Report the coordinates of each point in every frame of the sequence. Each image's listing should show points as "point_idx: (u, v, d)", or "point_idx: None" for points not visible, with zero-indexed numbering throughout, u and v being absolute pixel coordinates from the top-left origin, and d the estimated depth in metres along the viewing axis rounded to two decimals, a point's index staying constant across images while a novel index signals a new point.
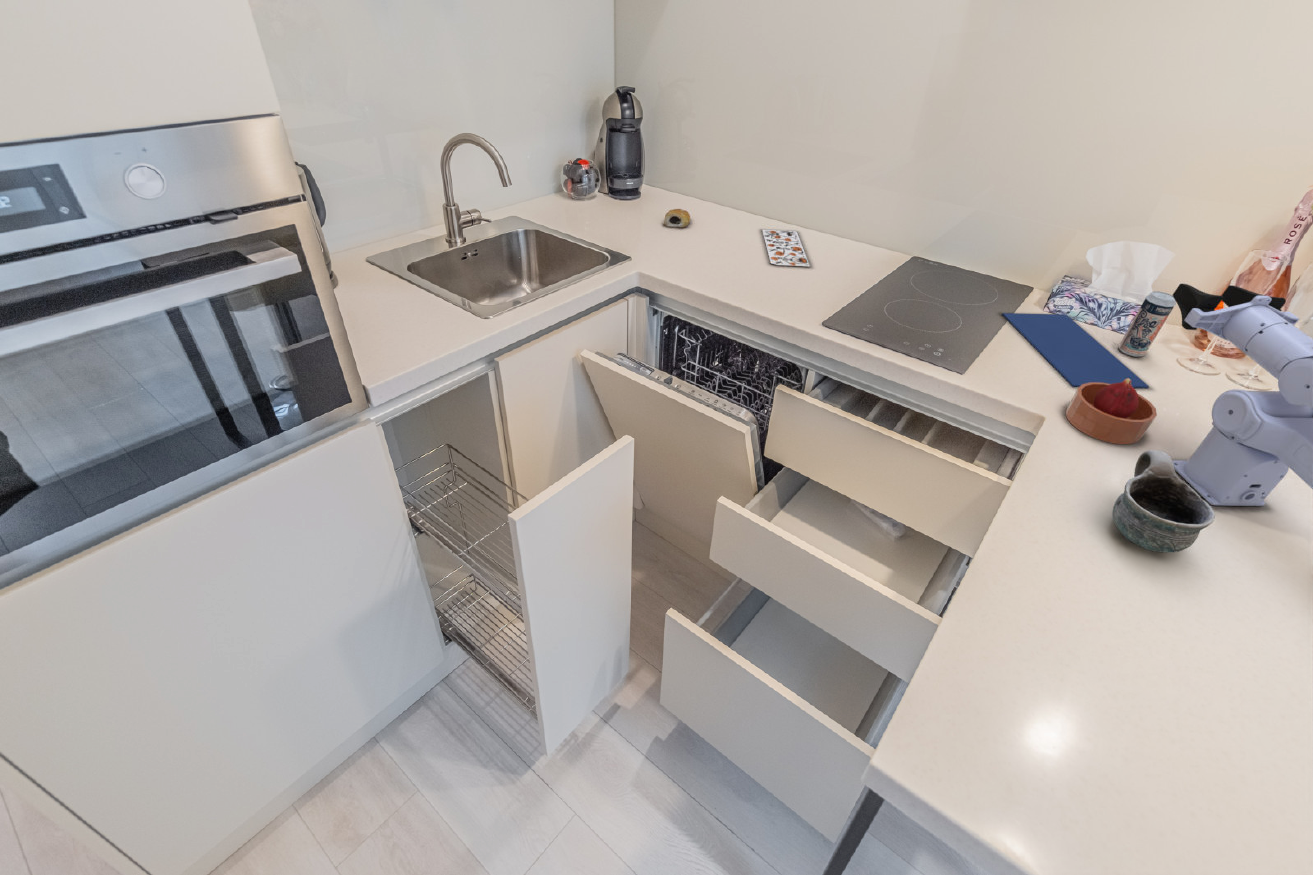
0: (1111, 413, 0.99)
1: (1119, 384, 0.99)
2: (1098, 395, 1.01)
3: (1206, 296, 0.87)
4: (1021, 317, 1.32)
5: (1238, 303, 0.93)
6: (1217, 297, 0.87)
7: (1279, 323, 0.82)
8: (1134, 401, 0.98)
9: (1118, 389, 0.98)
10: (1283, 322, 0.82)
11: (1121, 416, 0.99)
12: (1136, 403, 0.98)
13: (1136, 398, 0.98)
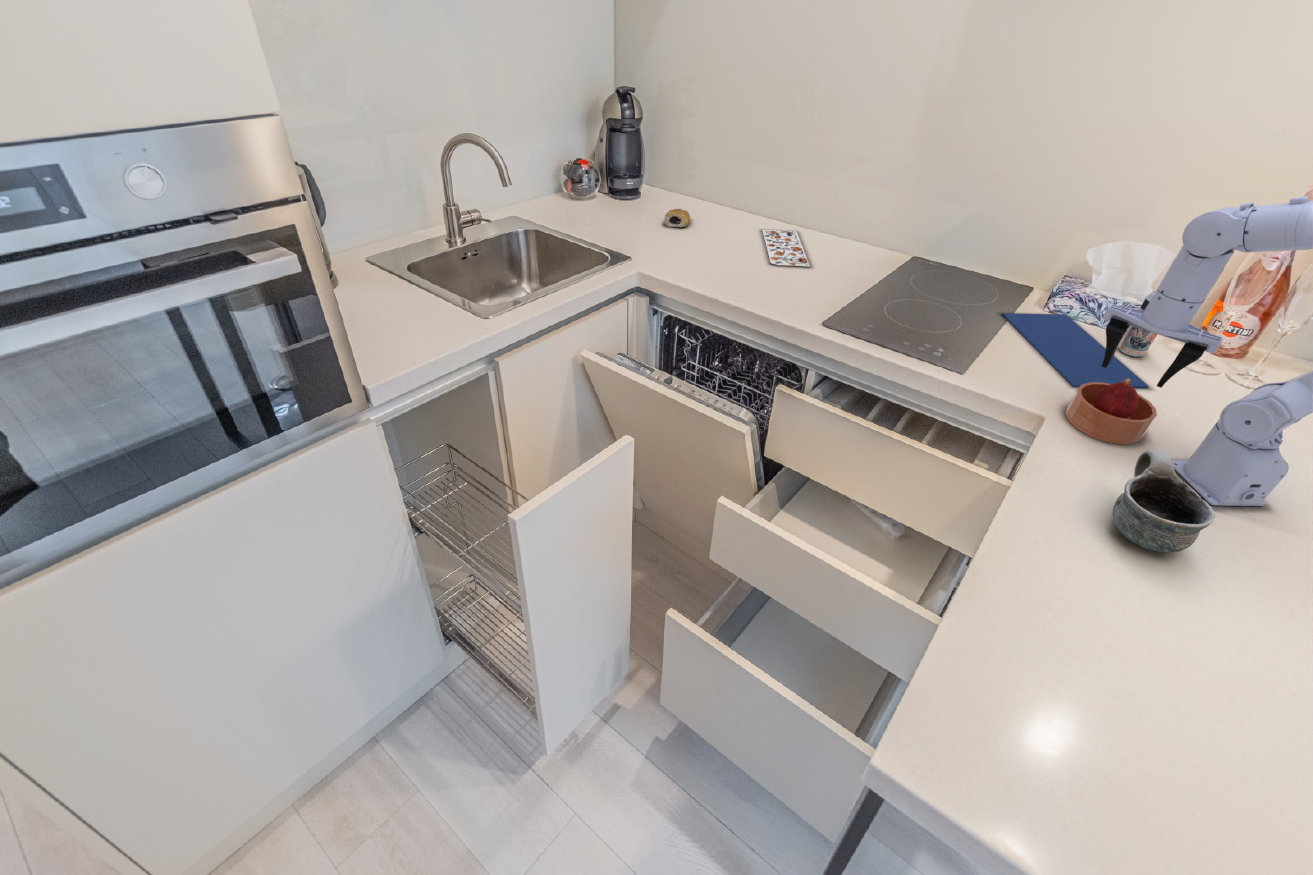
0: (1111, 413, 0.99)
1: (1119, 384, 0.99)
2: (1098, 395, 1.01)
3: None
4: (1021, 317, 1.32)
5: None
6: None
7: None
8: (1134, 401, 0.98)
9: (1118, 389, 0.98)
10: None
11: (1121, 416, 0.99)
12: (1136, 403, 0.98)
13: (1136, 398, 0.98)
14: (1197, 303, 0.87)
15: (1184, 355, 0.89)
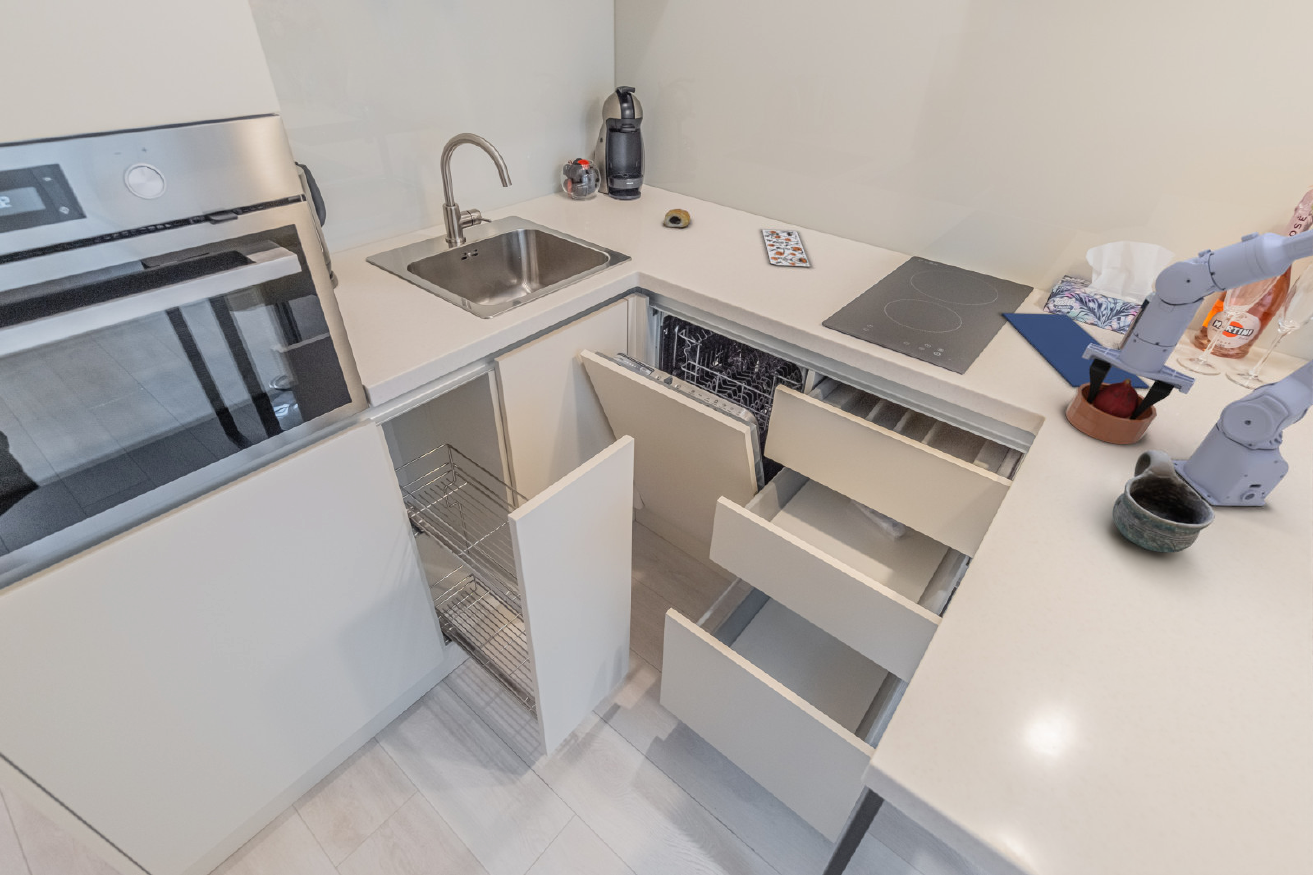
0: (1111, 413, 0.99)
1: (1119, 384, 0.99)
2: (1098, 395, 1.01)
3: None
4: (1021, 317, 1.32)
5: None
6: None
7: None
8: (1134, 401, 0.98)
9: (1118, 389, 0.98)
10: None
11: (1121, 416, 0.99)
12: (1136, 403, 0.98)
13: (1136, 398, 0.98)
14: (1170, 347, 0.91)
15: (1153, 393, 0.94)
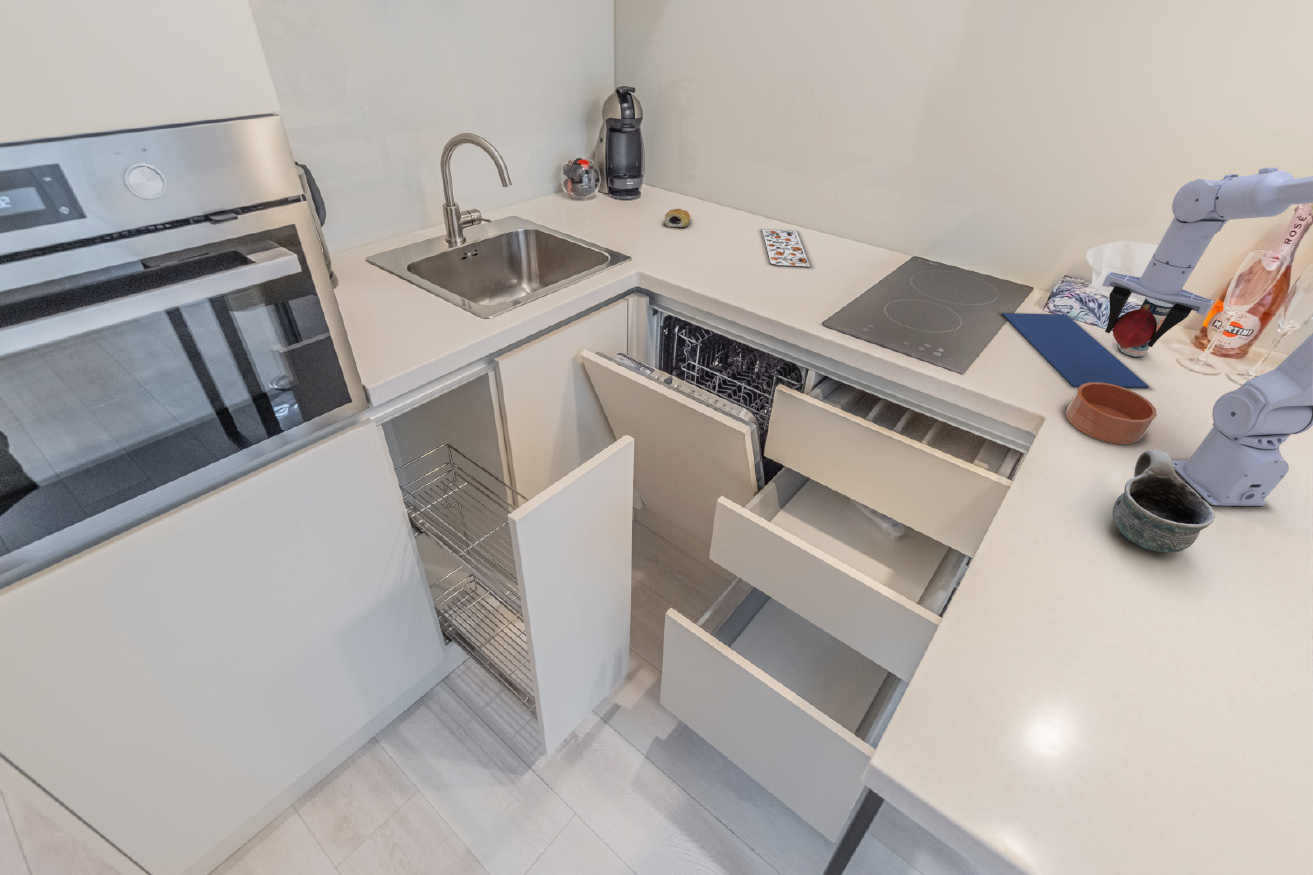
0: (1130, 338, 1.03)
1: (1138, 310, 1.02)
2: (1117, 322, 1.04)
3: None
4: (1021, 317, 1.32)
5: None
6: None
7: None
8: (1153, 326, 1.01)
9: (1138, 314, 1.02)
10: None
11: (1140, 341, 1.02)
12: (1155, 328, 1.02)
13: (1155, 323, 1.01)
14: (1189, 268, 0.95)
15: (1172, 315, 0.98)
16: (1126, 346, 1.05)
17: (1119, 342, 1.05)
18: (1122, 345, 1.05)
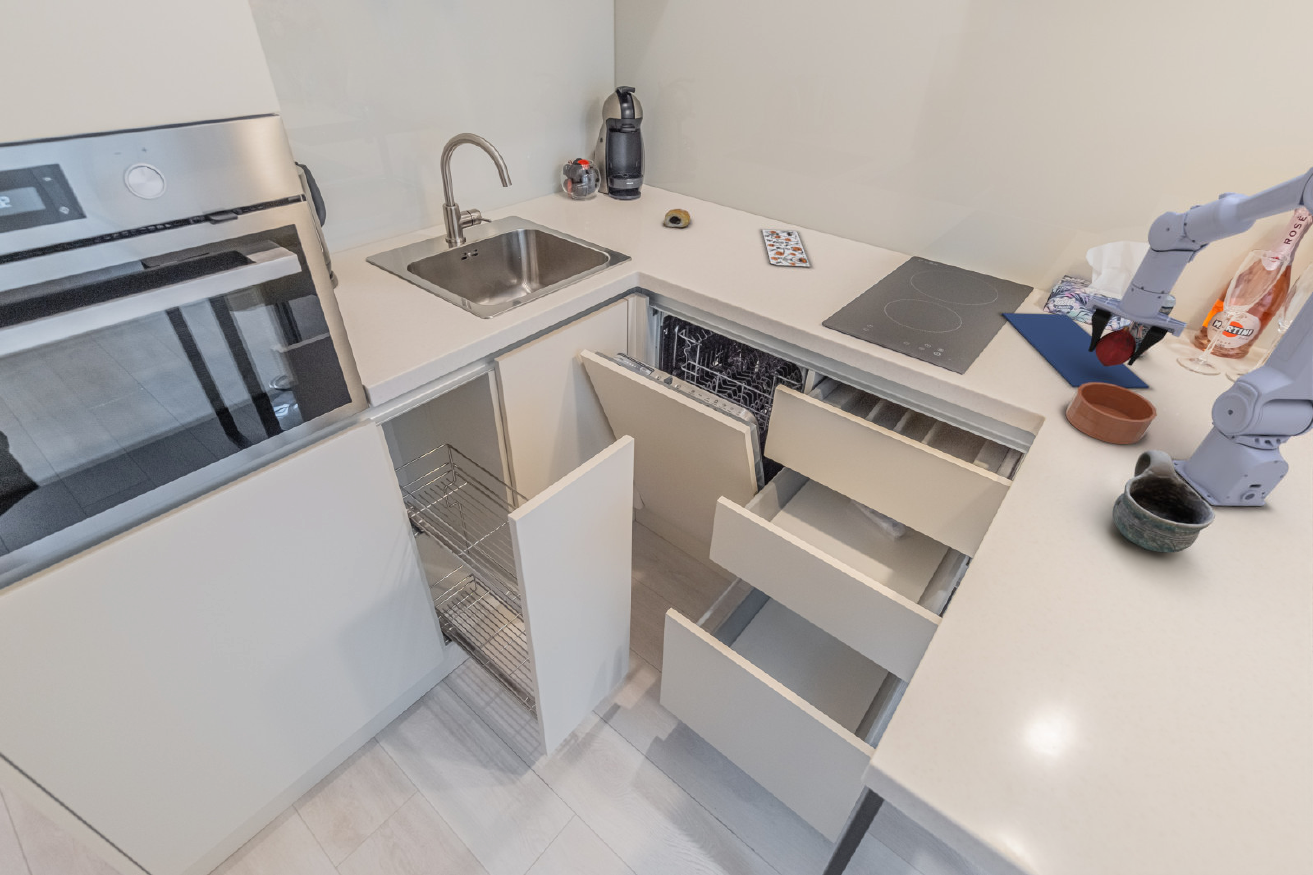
0: (1111, 357, 1.10)
1: (1118, 331, 1.09)
2: (1099, 342, 1.11)
3: None
4: (1021, 317, 1.32)
5: None
6: None
7: None
8: (1132, 346, 1.08)
9: (1118, 335, 1.09)
10: None
11: (1120, 360, 1.09)
12: (1134, 348, 1.09)
13: (1134, 343, 1.09)
14: (1164, 294, 1.02)
15: (1149, 337, 1.05)
16: (1107, 364, 1.12)
17: (1101, 360, 1.12)
18: (1103, 363, 1.12)
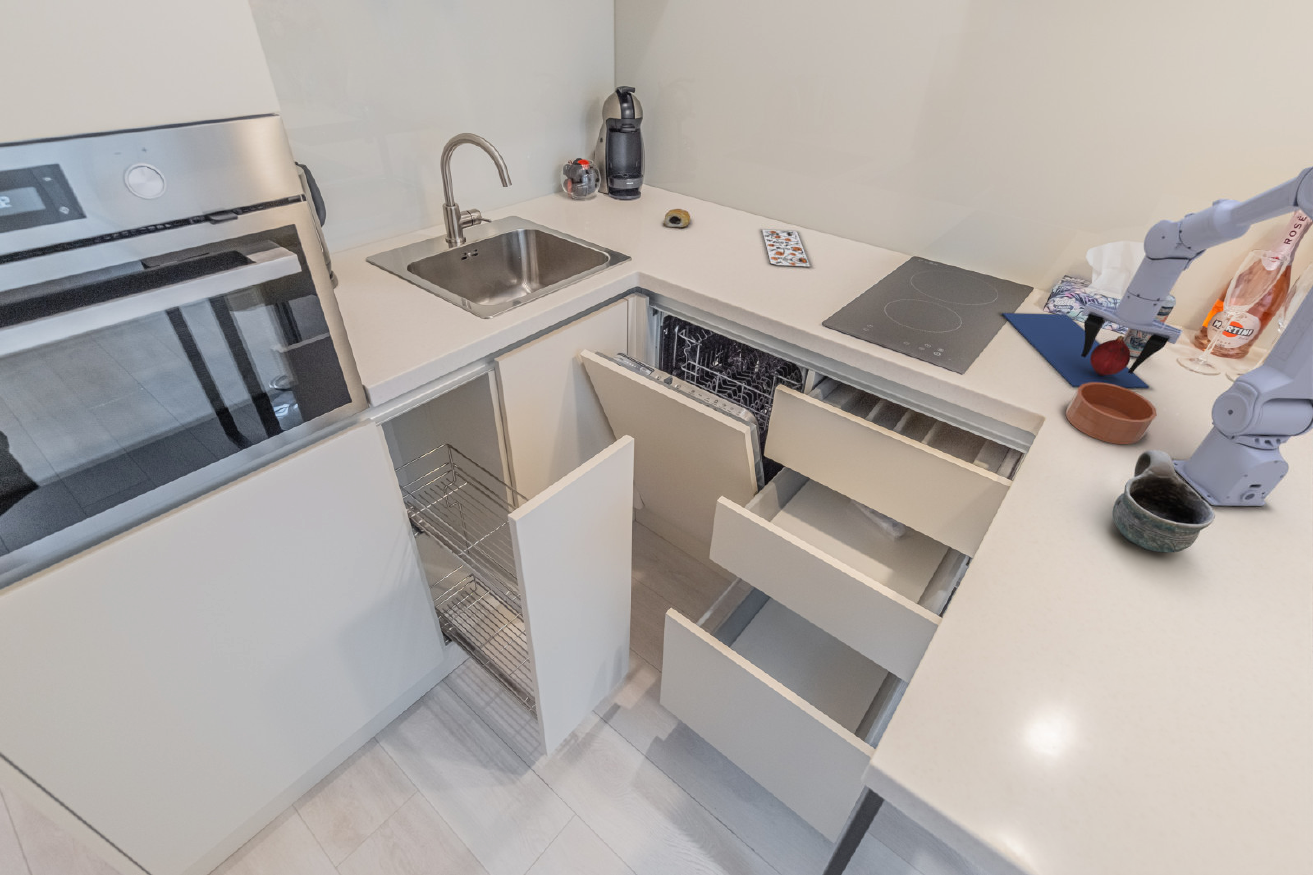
0: (1106, 367, 1.11)
1: (1113, 341, 1.11)
2: (1094, 351, 1.13)
3: None
4: (1021, 317, 1.32)
5: None
6: None
7: None
8: (1126, 356, 1.10)
9: (1112, 345, 1.10)
10: None
11: (1115, 369, 1.11)
12: (1128, 358, 1.10)
13: (1128, 353, 1.10)
14: (1160, 301, 1.03)
15: (1150, 345, 1.05)
16: (1102, 374, 1.13)
17: (1096, 370, 1.13)
18: (1098, 372, 1.13)
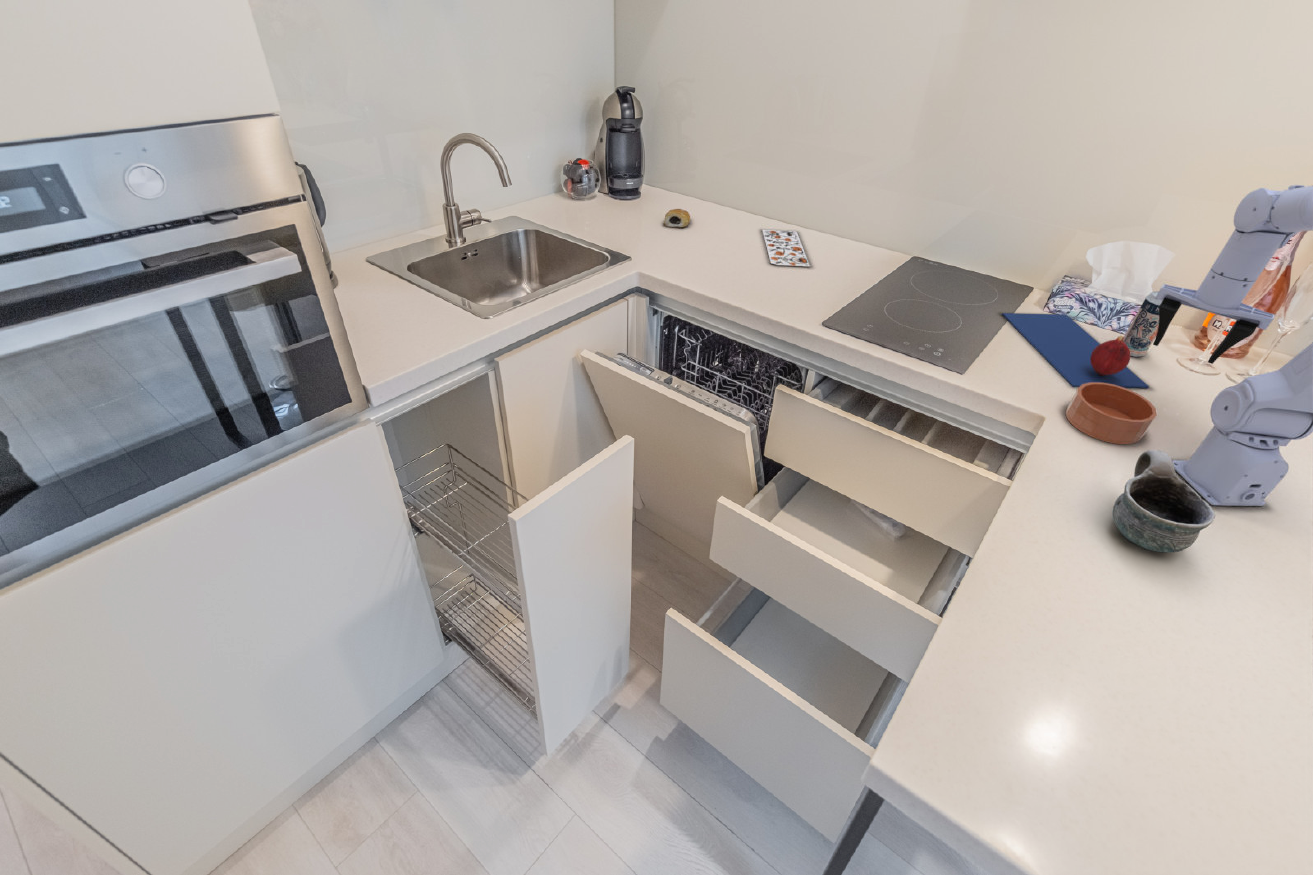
0: (1106, 367, 1.11)
1: (1113, 341, 1.11)
2: (1094, 351, 1.13)
3: None
4: (1021, 317, 1.32)
5: None
6: None
7: None
8: (1126, 356, 1.10)
9: (1112, 345, 1.10)
10: None
11: (1115, 370, 1.11)
12: (1128, 358, 1.10)
13: (1128, 353, 1.10)
14: (1251, 282, 0.92)
15: (1237, 331, 0.94)
16: (1102, 374, 1.13)
17: (1096, 370, 1.13)
18: (1098, 372, 1.13)
